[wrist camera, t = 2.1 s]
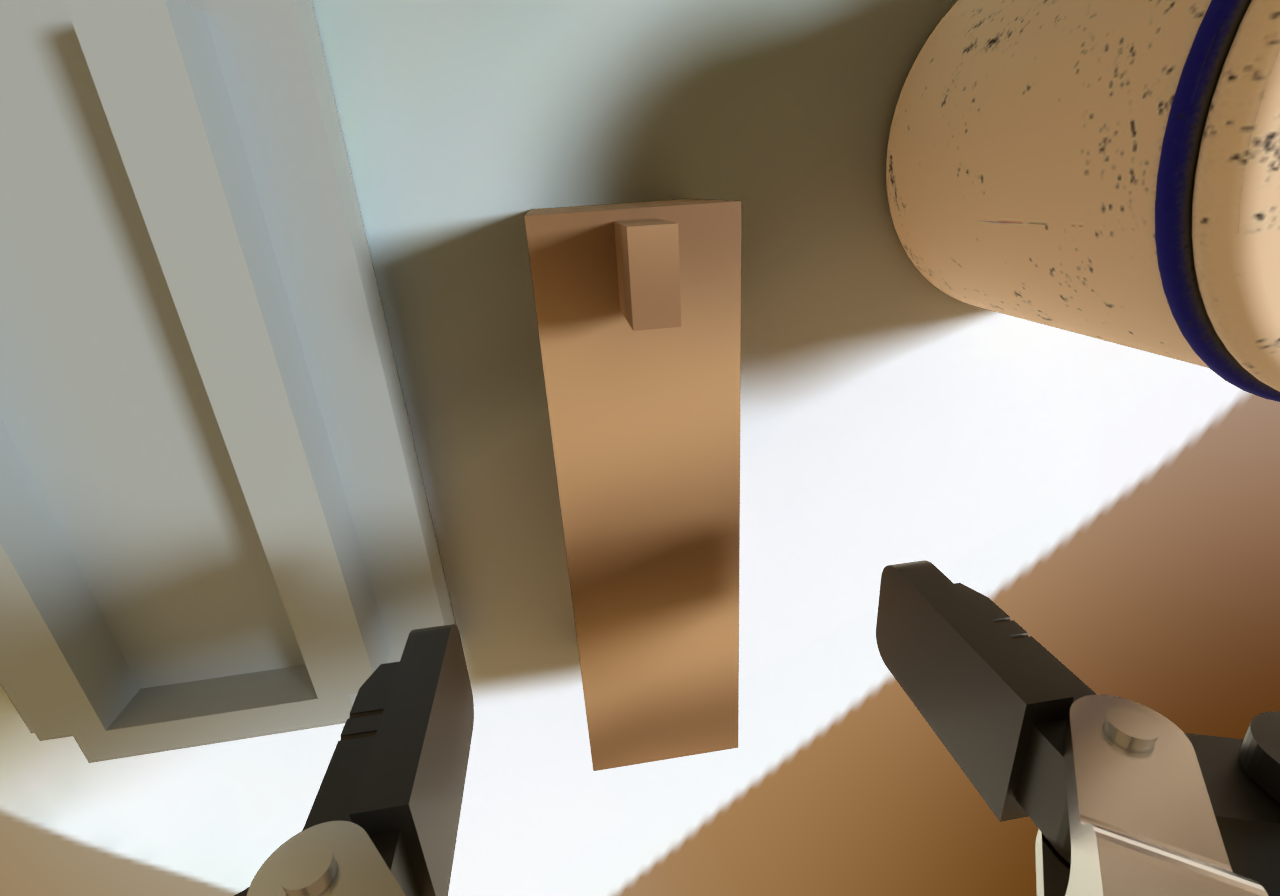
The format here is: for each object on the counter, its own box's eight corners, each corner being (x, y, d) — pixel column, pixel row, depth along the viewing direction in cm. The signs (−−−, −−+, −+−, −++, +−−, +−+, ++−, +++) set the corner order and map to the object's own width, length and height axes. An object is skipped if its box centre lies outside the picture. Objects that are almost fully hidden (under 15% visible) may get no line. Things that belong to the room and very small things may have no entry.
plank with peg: (531, 208, 15) (518, 220, 9) (686, 198, 16) (778, 202, 9) (583, 644, 21) (599, 843, 15) (697, 628, 21) (760, 815, 15)
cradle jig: (-355, -12, 12) (-599, -67, 9) (304, -33, 13) (245, -88, 10) (61, 701, 19) (-13, 778, 16) (460, 643, 20) (447, 707, 17)
